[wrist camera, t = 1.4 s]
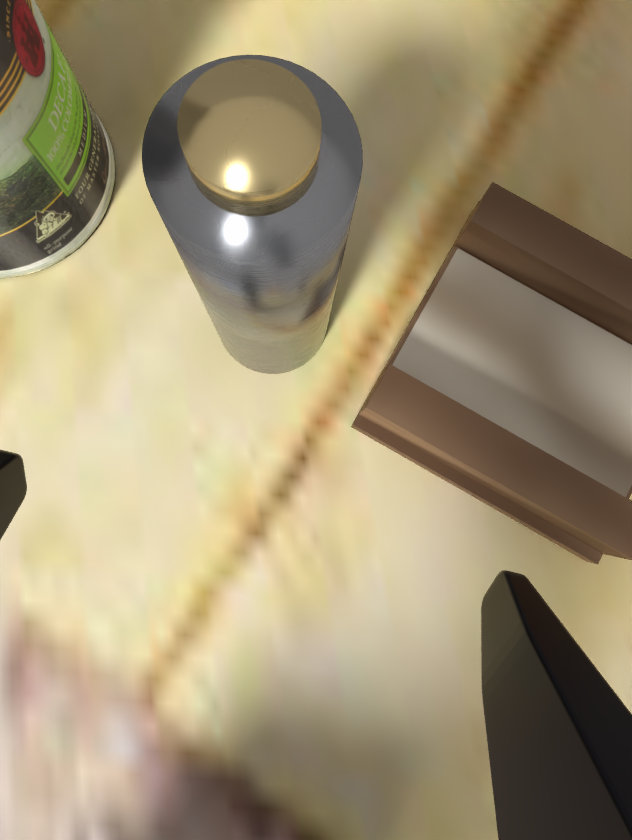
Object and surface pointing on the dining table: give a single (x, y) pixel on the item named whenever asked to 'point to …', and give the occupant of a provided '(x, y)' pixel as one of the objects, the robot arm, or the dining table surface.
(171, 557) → the dining table surface
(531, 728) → the robot arm
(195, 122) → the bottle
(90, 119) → the coffee can
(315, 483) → the dining table surface
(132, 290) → the dining table surface
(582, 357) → the cradle
